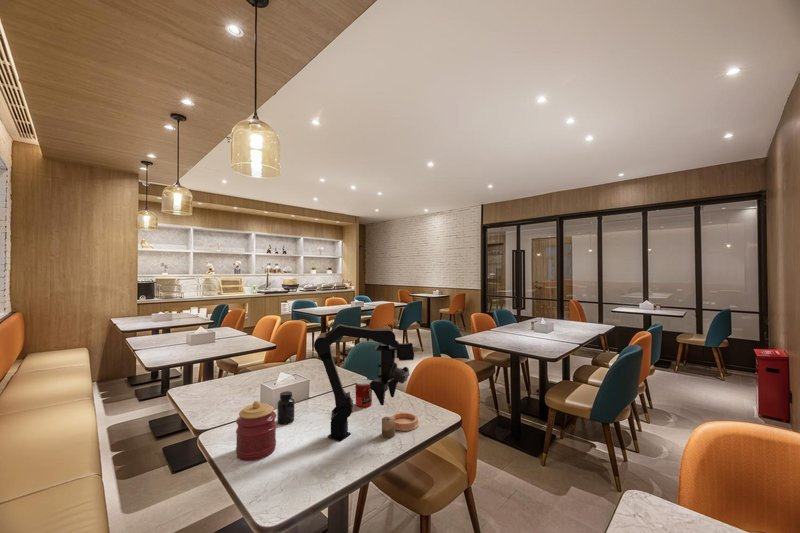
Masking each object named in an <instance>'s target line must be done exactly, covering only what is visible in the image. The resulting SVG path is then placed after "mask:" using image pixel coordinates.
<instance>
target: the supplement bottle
mask: <svg viewBox="0 0 800 533" xmlns="http://www.w3.org/2000/svg"><path fill="white" fill-rule="evenodd" d="M276 406H277V407H276V408H277V411H276V412H277V413H276V417H277V418H276V419H277V420H276V421H277V424H279V425H282V426H286V425H290V424H292V423H294V421H295V399H294V398H293V392H292V391H288V390H287V391H286V390H285V391H282V392H280V394H279V399H278V401H277V405H276Z"/></svg>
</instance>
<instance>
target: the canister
mask: <svg viewBox="0 0 800 533" xmlns="http://www.w3.org/2000/svg"><path fill="white" fill-rule="evenodd" d="M274 410H275V408H274V406H272V405H270V404H268V403H266V402H265V403H264V402H261V401H259V400H255V401H253V402H252V404H249V405H246V406H245V407H244V408H243V409H241V410H239V413H238V417H237V418H236V420H235V423H236V425H237V428H236V430H235V434H236V447H235V454H236V458H238V460H240V461H245V462H252V461H253V462H254V461H258V460H262V459H265V458H268V456H270V455H272V454H273V453H274V452H275V451H276V446H277V438H276V436H277V434H276V426H277V423H276V421H275V420H276V419H277V418H276V417H277V413H276V412H275V411H274Z"/></svg>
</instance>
